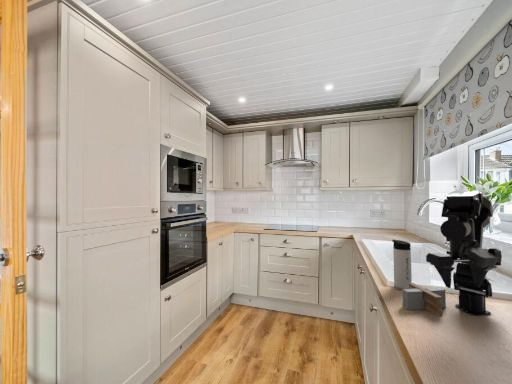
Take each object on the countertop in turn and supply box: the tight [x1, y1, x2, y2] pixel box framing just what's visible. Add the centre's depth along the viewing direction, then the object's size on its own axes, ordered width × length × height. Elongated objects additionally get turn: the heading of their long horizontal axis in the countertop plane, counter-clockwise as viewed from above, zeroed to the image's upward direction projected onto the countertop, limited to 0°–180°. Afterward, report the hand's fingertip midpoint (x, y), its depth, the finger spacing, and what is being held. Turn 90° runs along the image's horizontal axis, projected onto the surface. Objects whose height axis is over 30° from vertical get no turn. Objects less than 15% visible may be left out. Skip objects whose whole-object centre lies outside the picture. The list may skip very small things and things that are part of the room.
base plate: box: [402, 286, 447, 311], centre depth 81 cm, size 14×2×6 cm, turn 95°
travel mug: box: [391, 239, 413, 292], centre depth 97 cm, size 6×7×20 cm
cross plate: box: [409, 282, 443, 317], centre depth 81 cm, size 2×12×6 cm, turn 5°
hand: (463, 287), depth 70 cm, fingers open, 9 cm apart
